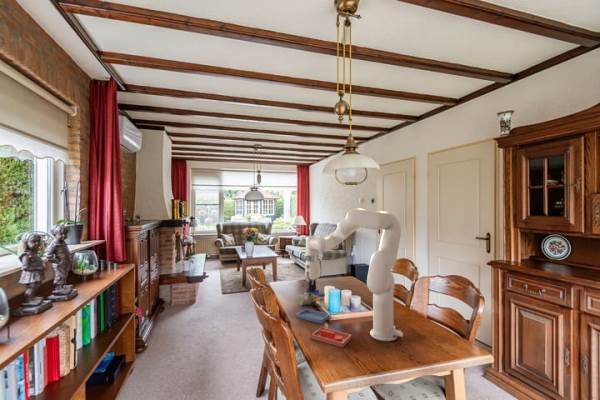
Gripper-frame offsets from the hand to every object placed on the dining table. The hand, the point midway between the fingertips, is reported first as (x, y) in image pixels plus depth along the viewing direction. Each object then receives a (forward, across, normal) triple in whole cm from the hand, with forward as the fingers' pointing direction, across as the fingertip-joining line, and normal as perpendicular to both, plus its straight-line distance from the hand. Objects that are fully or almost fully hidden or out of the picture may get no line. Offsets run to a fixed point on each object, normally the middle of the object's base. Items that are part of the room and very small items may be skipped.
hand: (312, 290), depth 158 cm
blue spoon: (+2, 0, -2) cm, 2 cm away
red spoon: (+15, -17, -20) cm, 30 cm away
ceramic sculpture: (+15, +18, +13) cm, 27 cm away
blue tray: (+15, +1, 0) cm, 15 cm away
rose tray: (+15, -17, -20) cm, 30 cm away
